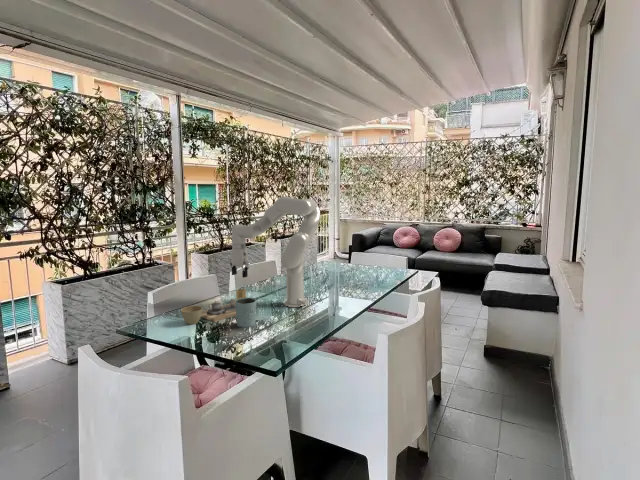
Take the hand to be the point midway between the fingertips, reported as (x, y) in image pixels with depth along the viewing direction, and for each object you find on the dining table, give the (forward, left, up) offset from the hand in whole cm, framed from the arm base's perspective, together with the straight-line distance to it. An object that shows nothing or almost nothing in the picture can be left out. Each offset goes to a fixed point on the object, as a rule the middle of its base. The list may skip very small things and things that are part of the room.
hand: (239, 275), depth 219 cm
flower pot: (-9, +37, -16) cm, 41 cm away
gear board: (-9, +17, -15) cm, 25 cm away
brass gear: (0, 0, -15) cm, 15 cm away
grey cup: (-32, +22, -16) cm, 42 cm away
